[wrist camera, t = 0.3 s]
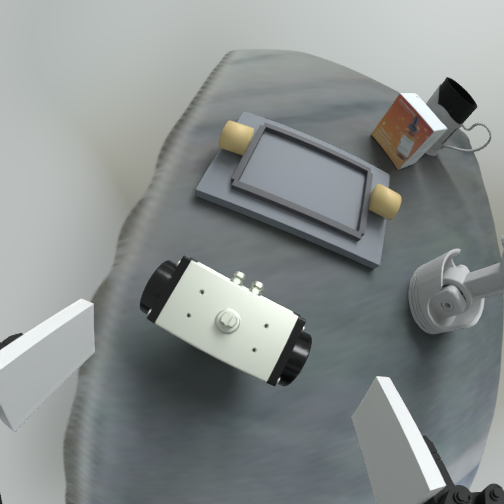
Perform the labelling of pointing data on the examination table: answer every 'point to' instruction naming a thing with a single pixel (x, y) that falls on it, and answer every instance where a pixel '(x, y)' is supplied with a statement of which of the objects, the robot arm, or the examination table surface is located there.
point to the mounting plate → (301, 187)
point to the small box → (408, 130)
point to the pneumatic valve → (227, 320)
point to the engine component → (452, 293)
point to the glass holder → (452, 113)
